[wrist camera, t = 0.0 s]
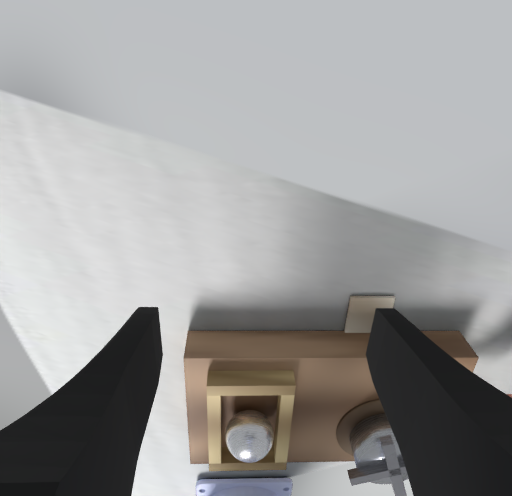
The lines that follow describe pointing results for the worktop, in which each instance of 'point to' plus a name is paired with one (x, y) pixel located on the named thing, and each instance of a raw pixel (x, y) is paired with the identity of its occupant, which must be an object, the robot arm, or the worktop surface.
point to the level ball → (249, 436)
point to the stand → (289, 387)
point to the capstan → (377, 454)
